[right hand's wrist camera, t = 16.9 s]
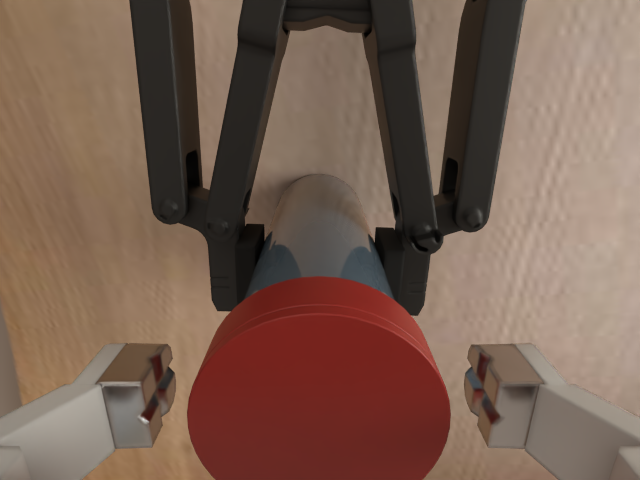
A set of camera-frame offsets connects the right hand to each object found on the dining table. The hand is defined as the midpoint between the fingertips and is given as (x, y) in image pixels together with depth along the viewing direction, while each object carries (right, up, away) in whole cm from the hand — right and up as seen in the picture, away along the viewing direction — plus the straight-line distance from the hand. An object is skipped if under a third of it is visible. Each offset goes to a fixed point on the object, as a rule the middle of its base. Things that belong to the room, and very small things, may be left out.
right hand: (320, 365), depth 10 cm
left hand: (0, -3, +8) cm, 8 cm away
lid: (0, -1, -2) cm, 2 cm away
